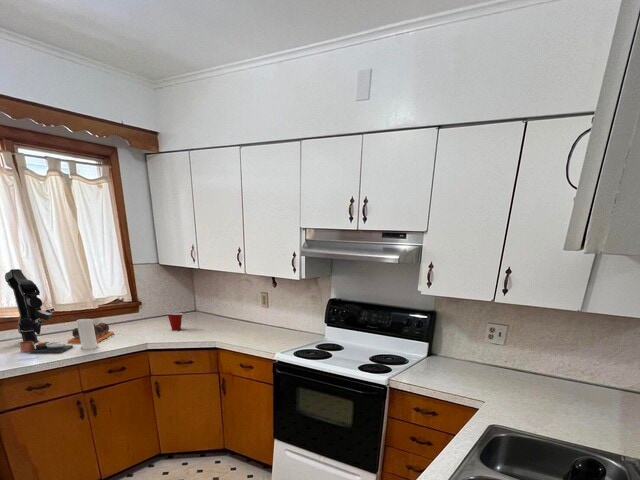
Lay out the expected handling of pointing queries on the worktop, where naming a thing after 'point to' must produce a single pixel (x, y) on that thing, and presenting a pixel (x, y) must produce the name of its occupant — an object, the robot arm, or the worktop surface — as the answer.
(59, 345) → the scale pan
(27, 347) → the bowl
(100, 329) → the brown piece
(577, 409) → the worktop surface
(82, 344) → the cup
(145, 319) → the worktop surface
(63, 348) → the scale
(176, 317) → the plastic cup
